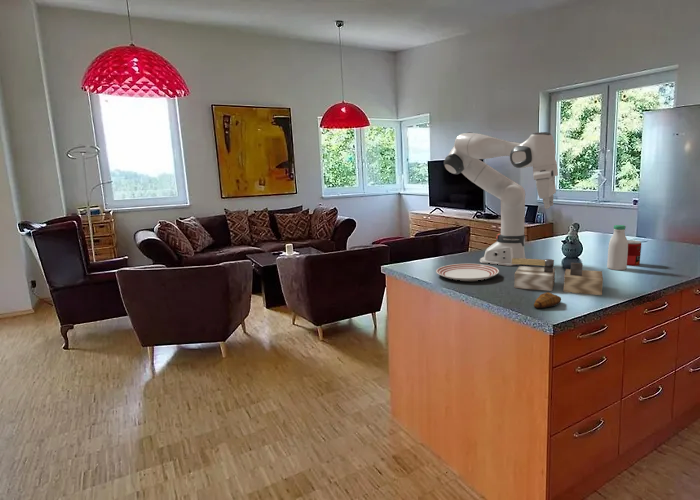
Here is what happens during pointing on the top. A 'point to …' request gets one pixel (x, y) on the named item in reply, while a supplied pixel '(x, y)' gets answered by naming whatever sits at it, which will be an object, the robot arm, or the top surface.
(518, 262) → the latch bar
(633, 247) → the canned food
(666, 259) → the top surface
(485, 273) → the dinner plate
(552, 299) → the croissant
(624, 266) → the milk bottle
